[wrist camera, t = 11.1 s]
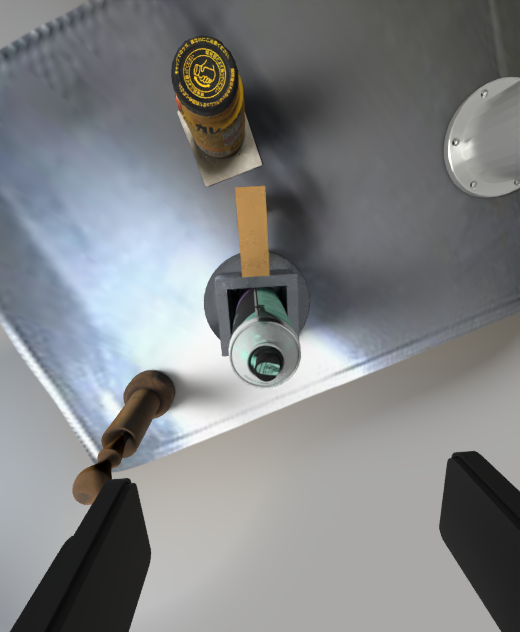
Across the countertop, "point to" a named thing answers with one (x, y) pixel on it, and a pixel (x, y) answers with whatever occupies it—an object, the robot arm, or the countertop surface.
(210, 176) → the condiment
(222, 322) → the grey square saucepan
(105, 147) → the countertop surface
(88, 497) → the brown wooden tall piece
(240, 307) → the spray can
